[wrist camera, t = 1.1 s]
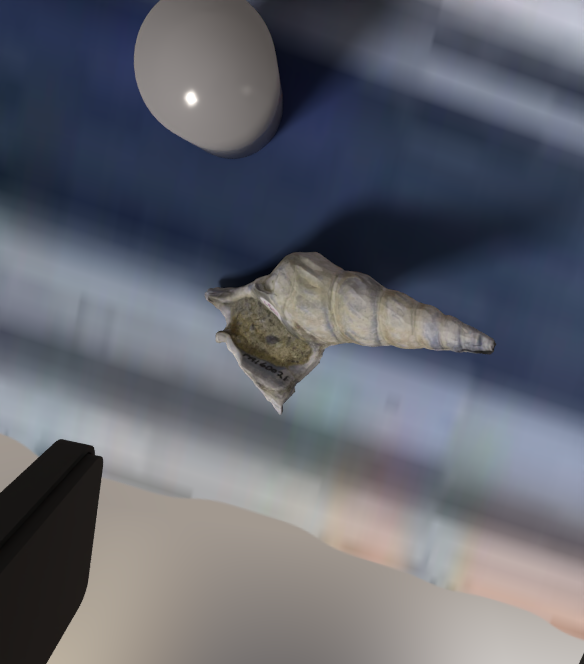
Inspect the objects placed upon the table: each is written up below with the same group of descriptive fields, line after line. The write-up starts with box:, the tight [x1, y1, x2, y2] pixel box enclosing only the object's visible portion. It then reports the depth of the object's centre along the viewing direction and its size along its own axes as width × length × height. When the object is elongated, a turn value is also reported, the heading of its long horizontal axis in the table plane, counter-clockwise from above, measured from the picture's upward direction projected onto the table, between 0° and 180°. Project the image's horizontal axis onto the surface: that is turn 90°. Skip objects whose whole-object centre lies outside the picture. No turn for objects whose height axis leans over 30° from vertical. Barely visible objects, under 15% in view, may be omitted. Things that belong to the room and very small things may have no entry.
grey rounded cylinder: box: [134, 0, 283, 159], centre depth 28 cm, size 7×7×9 cm
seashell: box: [205, 252, 496, 414], centre depth 32 cm, size 10×17×10 cm, turn 73°
